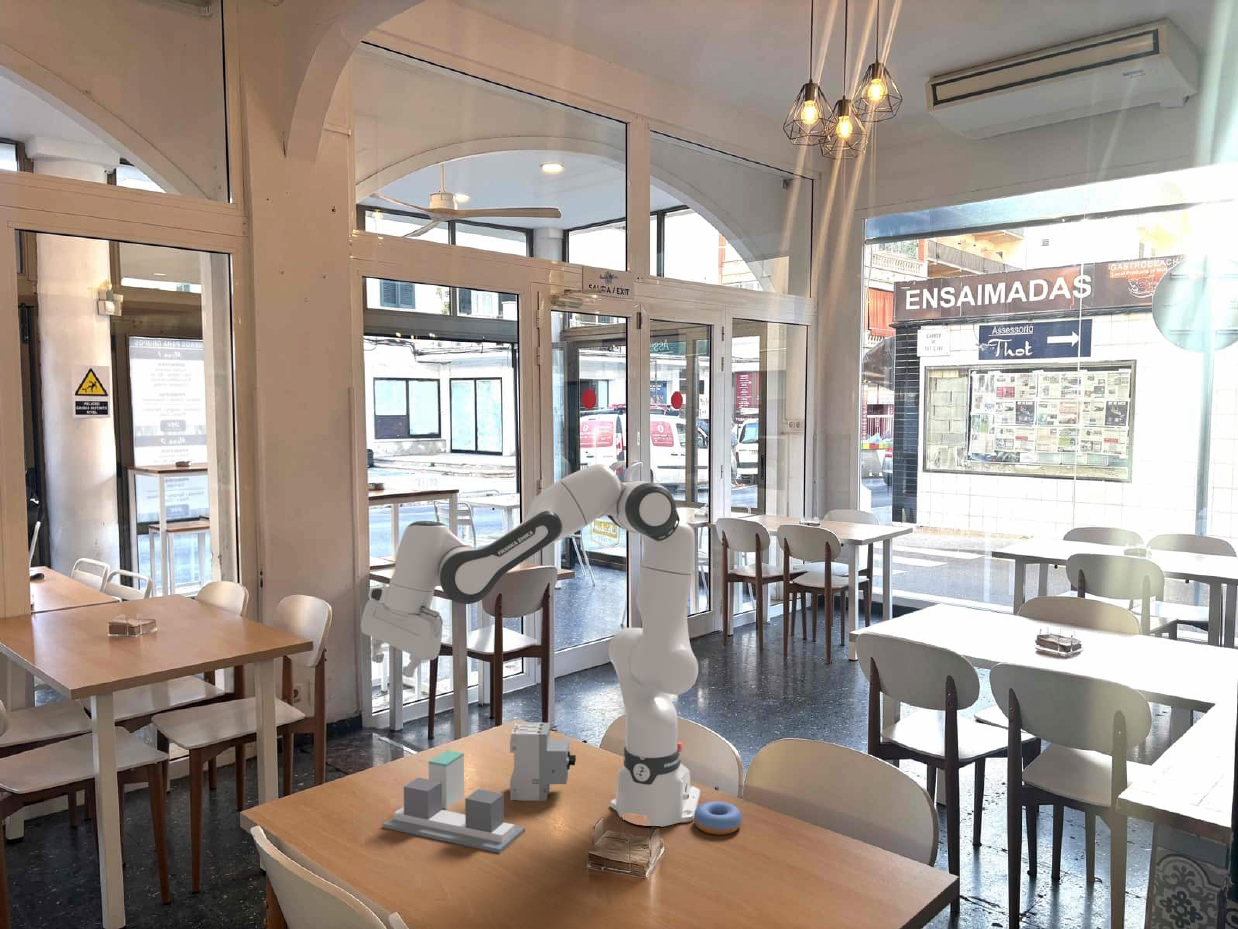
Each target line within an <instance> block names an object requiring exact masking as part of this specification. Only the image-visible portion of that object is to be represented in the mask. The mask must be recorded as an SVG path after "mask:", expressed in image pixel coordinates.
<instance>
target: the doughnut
mask: <svg viewBox="0 0 1238 929" xmlns="http://www.w3.org/2000/svg"><path fill="white" fill-rule="evenodd" d="M742 820H743V816H742V812H741V811H740V809H739V808H738V807H737V806H735V805H734V804H731V803H729V802H726V801H721V800H720V801H719V800H717V801H715V800H712V801H707V802H703V803H701V804H700V805H697V808H696V810H695V815H694V819H693V821H694V825H695V826H696V827H697V828H698V829H699V830H701V831H702V832H704V833H707V834H710V835H717V836H721V835H729V834H732V833H734V832H736V831H737V830H739V829H740V827H741V826H742Z"/></svg>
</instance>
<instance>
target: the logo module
mask: <svg viewBox="0 0 1238 929" xmlns="http://www.w3.org/2000/svg"><path fill="white" fill-rule="evenodd" d="M464 754H465V753H464V752H461V751H454V750H449V749H446V750H445V751H443V752H441V753H440V754H438V755H436V756H435V757H433V758H432V759H430V760H429V761H428V780H433V781H439V782H442V810H447V809H449V808H450V807H452V806H453V805H454V804H456V803H457V802H459V801H461V798H462V799H463V798H464V797H465V758H464V757H465V755H464Z"/></svg>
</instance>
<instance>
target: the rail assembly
mask: <svg viewBox="0 0 1238 929" xmlns="http://www.w3.org/2000/svg"><path fill="white" fill-rule="evenodd" d="M504 796H505V794H504V793H502V792H498V791H497V792H495V791H490V790H486V789H480V788H478V789H476V790H475V791H474V792H473V793H470V795H468V796H467V797H465V799H464V800H465V801H464V802H465V804H464V806H465V809H464V810H465V813H459V812H455V811H450V810H446V809H443V808H442V782H439V781H433V780H429V778H428V779H427V778H421V777H417V778H415V779H414V780H412V781H410V782H409V783H407V784H405V785H403V806H402V807H401V808H398V810H396V811H395V812H394V814H393V815H394V816H392V817H391V818H389V819H388V820H386V821H385V822H383V823H382V828H385V829H388V830H392V831H398V832H403V833H405V834H411V835H415V836H420V837H424V838H428V839H429V838H430V839H434V840H438V841H442V842H443V841H444V842H448V843H452V844H457V845H461V846H464V847H471V848H474V849H479V850H484V851H489V852H492V853H497V854H501V853H503V851H505V850H506V849H507V848H508V847H509V846H510V845H511V844H512V843H513V842H515V841H516V840H517V839H518V838H519V837H521V835H522V834H523V833H525V831H526V828H525V827H523V826H520V825H515V824H514V823H507V822H505V804H504V803H505V797H504Z"/></svg>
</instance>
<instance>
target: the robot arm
mask: <svg viewBox="0 0 1238 929" xmlns="http://www.w3.org/2000/svg"><path fill="white" fill-rule="evenodd" d="M603 517H607V518H608V519H609V520H610V521H611V522H612V523H614V525H616V526H617V527H619V528H620V529H623V530H626V531H627V532H630V533H633V534H640V536H641V537H642V541H643V546H644V547H643V549H644V550H643V551H644V552H643V556H642V561H641V566H640V574H639V578H638V583H637V591H636V596H635V603H636V606H637V609H638V611H639V614H640V618H641V619H640V620H641V627H624V628H621V629H620V630H619V631H618V630H617V632H616V633H614V635H613V636H612V638H611V640H610V642H609V646H608V656H609V657H608V658H609V659H610V662H611V664H612V665H613V667H614V669H615V672H616V676H617V680H618V684H619V688H620V692H621V697H622V701H623V706H624V707H623V708H624V714H625V716H624V717H625V746H624V748H623V753H622V754H623V755H622V758H623V767H622V768H620V769H619V770H618V773H617V781H616V782H617V784H616V786H617V787H616V797H614V799H612V800H611V801H610V808H611V809H613V810H614V811H616V812H617V814H618V816H619V818H621V816H622V814H624V813H634V814H643V815H646V816H647V818H648V820H649V822H650V825H653V826H655V825H659V826H660V827H667V826H671V825H674V824H675V825H676V824H678V823H680V824H681V823H689V822H690V823H691V822H693V821H694V815H695V810H696V809H697V808H698V806H699V805H698V804H699V800H700V796H701V790H700V788H698V787H696V786H693V785H691V771H690V769H688V767H686V766H685V765H683V763H682V762H681V753H682V750H683V742H680V741H678V714H677V710H676V707H675V705H674V704H673V701H672V699H671V697H670V695H674V696H678V695H682V694H685V693H686V692H688V691H689V690H690V689H691V688H692V687H693V686H694V684H695V683H696V681H697V679H698V674H699V663H698V659H697V658H696V656H695V653H694V652H693V650H692V649H693V648H692V647H691V642H690V635H689V624H688V604H689V598H690V597H689V596H690V591H691V583H692V578H693V572H694V565H695V564H694V562H695V548H696V546H695V545H696V544H695V543H696V542H695V532H694V528H692V526H691V525H689V523H687V522H685V521H684V520H682V519H680V516H679V512H678V511H677V505H676V502H675V499H674V496H673V495H672V494H671V492H670V491H669V490H668V489H667V488H666V487H664V486H663V485H661V484H659V483H656V482H650V481H645V480H636V481H635V480H634V481H621V480H620V478H619V477H618V475H617V474H616V472H614V470H613V469H611V468H610V467H608V466H607V465H604V464H601V463H599V464H598V463H597V464H592V465H590V466H587V467H585V468H582V469H580V470H577V471H575V472H572V473H570V474H568V475H567V476H564V477H563V478H561V479H559V480H558V481H556V482H554V483H553V484H551V485H549V486H548V487H547V488H545V489H544V490H543V491H542V492H540V493H539V494H538V495H537V496H536V497H535V498H534V499H533V500H532V501H531V503H530V507H529V510H528V513H527V515H526V517H525V518H524V520H522V522H521V523H520V524H518V525H517V526H516V527H514V528H513V529H512V530H510V531H508V532H506V533H505V534H504V535H502V536H500V537H499V538H497V539H496V540H494V541H493V542H491V543H490V544H488V545H486V546H484V547H481V548H477V549H476V548H474V547H473V546H471V545H470V544H467V543H466V542H465V541H463V540H462V539H461V538H459V537H458V536H457V535H455V534H454V533H453V532H452V531H451V530H450V529H449V527H447V524H445V523H443V522H440V521H433V520H418V521H413V522H411V523H409V524H408V525H407V526H406V528H405V530H404V531H403V534H402V536H401V540H400V542H399V545H398V549H397V553H396V556H395V561H394V562H395V566H394V567H395V568H394V571H393V572H394V573H392V576H391V578H390V580H389V584H388V586H380V587H379V586H377V587H371V588H370V589H369V591H368V598H369V600H368V601H366V604H365V607H364V610H363V613H362V617H361V622H360V630H361V632H362V634H365V635H367V636H369V637H371V641H370V644H371V652H372V655H371V657H370V658H371V661H372V662H374V663H376V664H382V663H383V661H384V657H385V653H383V647H382V645H384V644H387V645H389V646H391V647H394V648H395V649H398V650H400V651H402V652H404V653H407V654H409V658H408V659H409V663H408V664H407V666H403V668H402V671H401V675H402V676H403V677H405V678H413V677H414V674H415V672H416V671H415V670H416V669H417V668H418V666H420V664H421V663H422V661H423V660H424V661H426V660H427V661H434V660H435V659H436V658H437V657H439V654H440V651H441V644H442V640H443V639H442V638H443V625H444V620H443V618H442V616H441V615H440V612H438V611H436V610H432V609H431V606H432V601H433V598H434V593H435V590H436V587H441V589H442V591H443V593H444V594H445V596H446V597H447V598H449V599H450V600H451V601H453V602H454V603H457V604H461V605H471V604H475V603H477V602H478V603H479V602H480V601H482V600H483V599H485V598H486V597H488V595H489V594H490V593H491V591H492V590H493V589H494V587H495V585H496V584H497V582H498V581H499V580H500V579H501V578H502V577H503V576H504V575H505V574H506V573H508V572H510V571H511V570H512V569H514V568H515V567H517V566H518V565H521V563H523V562H524V561H526V560H528V559H529V558H530V557H532V556H534V555H535V554H536V553H538V552H540V550H542V549H544V548H546V547H548V546H550V545H552V544H554V543H556V542H559V541H560V540H562V539H565V538H567V537H569V536H572V535H573V534H576V533H577V532H578V531H580V530H582V529H584V528H585V527H587V526H588V525H590V524H592V523H593V522H595V521H596V520H597V519H600V518H603ZM660 827H659V828H660Z"/></svg>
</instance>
